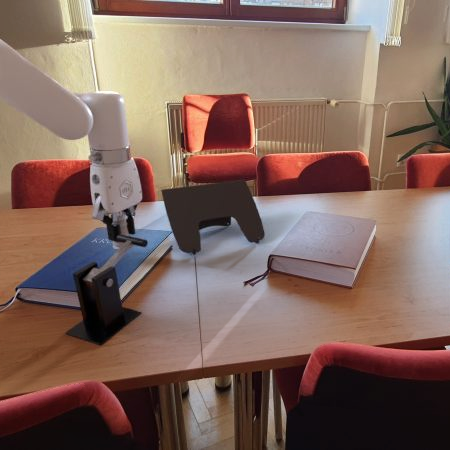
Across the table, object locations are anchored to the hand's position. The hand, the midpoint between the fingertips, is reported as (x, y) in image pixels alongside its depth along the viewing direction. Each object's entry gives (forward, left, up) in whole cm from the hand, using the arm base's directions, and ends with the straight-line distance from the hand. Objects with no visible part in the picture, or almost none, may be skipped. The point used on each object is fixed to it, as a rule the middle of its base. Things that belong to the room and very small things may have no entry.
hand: (122, 236), depth 97 cm
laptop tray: (+10, +22, -8) cm, 25 cm away
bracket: (+12, -19, -7) cm, 24 cm away
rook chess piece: (0, 0, -3) cm, 3 cm away
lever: (+12, -15, +3) cm, 19 cm away
